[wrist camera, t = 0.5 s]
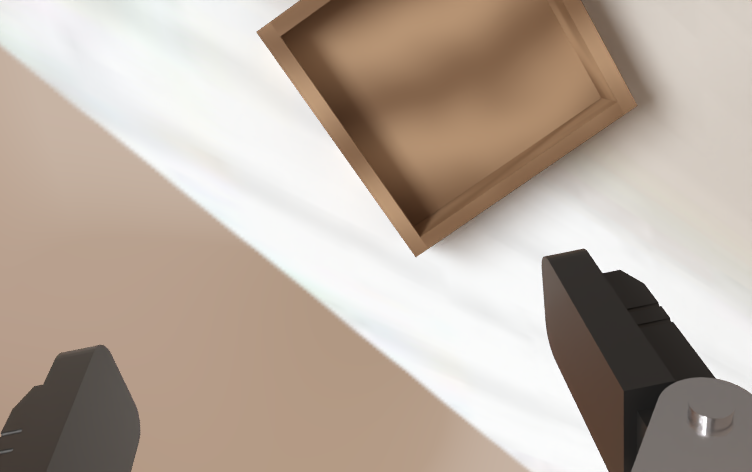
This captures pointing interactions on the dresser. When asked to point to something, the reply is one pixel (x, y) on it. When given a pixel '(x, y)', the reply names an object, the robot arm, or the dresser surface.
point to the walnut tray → (448, 96)
